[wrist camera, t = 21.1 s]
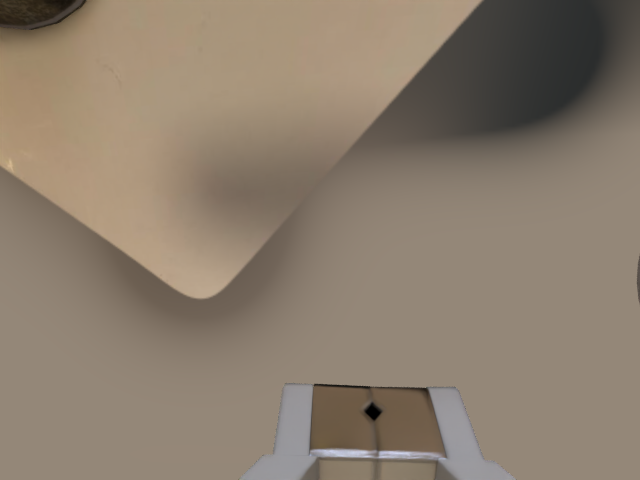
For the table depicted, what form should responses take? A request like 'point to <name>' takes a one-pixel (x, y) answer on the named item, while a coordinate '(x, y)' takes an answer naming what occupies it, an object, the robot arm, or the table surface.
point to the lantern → (35, 12)
